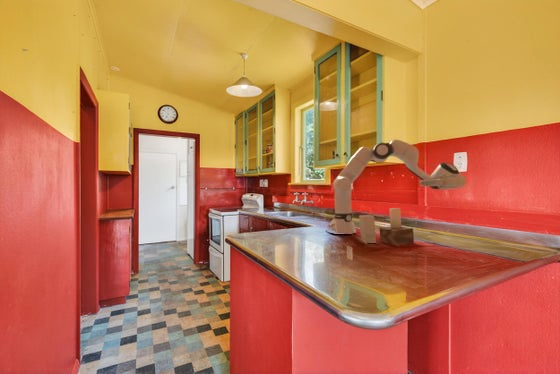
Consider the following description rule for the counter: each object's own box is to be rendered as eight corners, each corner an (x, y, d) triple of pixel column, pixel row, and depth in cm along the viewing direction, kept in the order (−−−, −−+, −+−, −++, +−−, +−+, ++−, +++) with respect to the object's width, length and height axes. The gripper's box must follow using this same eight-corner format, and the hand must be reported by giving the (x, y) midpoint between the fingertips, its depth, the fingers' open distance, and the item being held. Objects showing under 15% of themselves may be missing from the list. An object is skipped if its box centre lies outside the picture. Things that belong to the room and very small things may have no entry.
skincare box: (376, 244, 139) (375, 216, 139) (364, 244, 139) (362, 216, 139) (371, 240, 147) (369, 214, 147) (359, 241, 147) (358, 214, 147)
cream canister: (388, 228, 142) (387, 208, 141) (395, 227, 143) (394, 207, 143) (395, 229, 136) (394, 209, 136) (403, 228, 138) (402, 208, 138)
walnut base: (380, 241, 143) (379, 227, 143) (396, 239, 148) (395, 225, 148) (396, 246, 132) (395, 230, 132) (413, 243, 136) (413, 228, 136)
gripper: (428, 177, 158) (412, 178, 153) (462, 175, 139) (444, 176, 134) (429, 187, 158) (412, 188, 153) (462, 187, 139) (445, 188, 134)
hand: (427, 183), depth 143 cm, fingers open, 8 cm apart
